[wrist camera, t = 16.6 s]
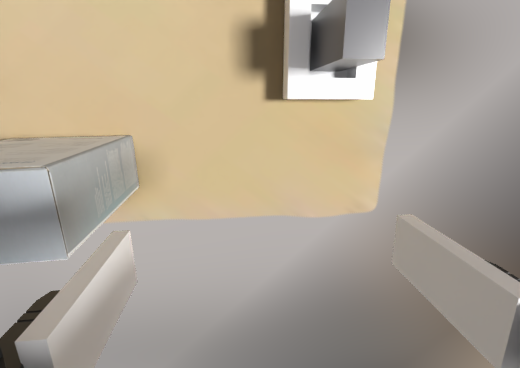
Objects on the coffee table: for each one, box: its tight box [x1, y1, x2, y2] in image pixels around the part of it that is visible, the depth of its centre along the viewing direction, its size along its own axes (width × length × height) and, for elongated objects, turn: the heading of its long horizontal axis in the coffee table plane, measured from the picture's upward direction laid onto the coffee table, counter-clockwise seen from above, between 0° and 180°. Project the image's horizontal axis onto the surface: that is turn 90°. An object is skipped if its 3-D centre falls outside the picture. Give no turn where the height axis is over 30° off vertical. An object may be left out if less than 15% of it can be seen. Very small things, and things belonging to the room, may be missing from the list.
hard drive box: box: [0, 135, 139, 265], centre depth 30 cm, size 16×8×20 cm, turn 92°
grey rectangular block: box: [310, 0, 390, 71], centre depth 33 cm, size 4×6×12 cm, turn 0°
